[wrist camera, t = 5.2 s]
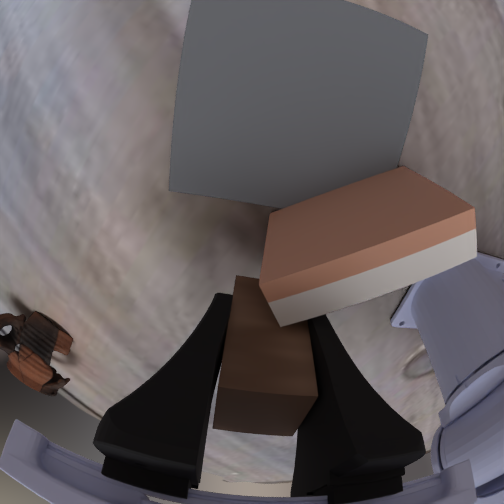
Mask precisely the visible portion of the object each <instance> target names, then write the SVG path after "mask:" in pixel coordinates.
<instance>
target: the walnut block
mask: <svg viewBox="0 0 504 504" xmlns="http://www.w3.org/2000/svg"><path fill="white" fill-rule="evenodd" d="M259 280H260V279H256V278H250V277H244V276H237V275H236V280H235V286H234V292H233V299H232V306H231V312H230V318H229V322H228V328H227V334H226V340H225V346H224V352H223V358H222V365H221V371H220V377H219V384H218V391H217V398H216V406H215V414H214V422H213V429H219V430H227V431H234V432H243V433H252V434H263V435H278V436H293V435H294V433H295V432H296V430H297V429H298V427H299V426H300V424H301V423H302V421H303V420H304V418H305V417H306V415H307V414H308V412H309V410H310V409H311V407H312V406H313V404H314V402H315V401H316V399H317V398H318V390H317V383H316V375H315V368H314V361H313V354H312V347H311V340H310V334H309V328H308V322H307V320H304V321H300V322H297V323H293V324H290V325H286V326H282V327H280V325H279V323H278V321H277V319H276V317H275V315H274V314H273V312H272V310H271V308H270V306H269V304H268V302H267V300H266V298H265V296H264V294H263V292H262V290H261V288H260V286H259Z"/></svg>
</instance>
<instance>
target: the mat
mask: <svg viewBox="0 0 504 504" xmlns="http://www.w3.org/2000/svg"><path fill="white" fill-rule="evenodd" d="M427 39H428V34H426V33H424V32H422V31H420V30H418V29H416V28H414V27H412V26H410V25H408V24H405V23H403V22H401V21H399V20H396V19H394V18H392V17H389V16H387V15H384V14H382V13H379V12H377V11H374V10H371V9H369V8H366V7H363V6H360V5H357V4H354V3H351V2H348V1H344V0H191V5H190V10H189V15H188V20H187V25H186V30H185V36H184V42H183V48H182V55H181V61H180V68H179V75H178V83H177V91H176V100H175V109H174V120H173V131H172V144H171V158H170V177H169V191H173V192H180V193H188V194H195V195H202V196H208V197H215V198H221V199H228V200H234V201H240V202H246V203H252V204H258V205H264V206H270V207H275V208H281V209H283V208H286V207H288V206H291V205H294V204H296V203H299V202H302V201H305V200H307V199H310V198H313V197H315V196H318V195H321V194H324V193H327V192H329V191H332V190H335V189H338V188H341V187H343V186H346V185H349V184H352V183H355V182H358V181H360V180H363V179H366V178H369V177H372V176H375V175H378V174H381V173H384V172H387V171H390V170H393V169H396V168H397V165H398V162H399V159H400V156H401V153H402V149H403V146H404V142H405V139H406V135H407V132H408V128H409V125H410V121H411V117H412V113H413V109H414V105H415V101H416V97H417V92H418V88H419V83H420V78H421V73H422V68H423V63H424V58H425V52H426V46H427Z"/></svg>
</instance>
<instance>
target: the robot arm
mask: <svg viewBox="0 0 504 504" xmlns="http://www.w3.org/2000/svg"><path fill="white" fill-rule="evenodd" d="M503 273H504V260H503V259H500V258H496V257H493V256H490V255H486V254H483V253H480V252H477V257H475V258H473V259H471V260H469V261H466V262H464V263H462V264H460V265H457V266H455V267H453V268H450V269H448V270H446V271H443V272H441V273H439V274H436V275H434V276H431V277H429V278H426V279H424V280H421V281H419V282H416V283H414V284H412V285H411V287H410V289H409V291H408V292H407V294H406V296H405V297H404V299H403V301H402V303H401V304H400V306H399V308H398V309H397V311H396V312H395V314H394V316H393V317H392V319H391V321H390V322H391V325H392V326H393V327H403V328H418V331H419V333H420V336H421V338H422V341H423V343H424V346H425V348H426V351H427V353H428V356H429V358H430V361H431V364H432V366H433V369H434V372H435V375H436V377H437V380H438V383H439V386H440V389H441V392H442V395H443V398H444V402H445V404H446V406H445V407H444V408H443V409H442V410H441V411H440V412H439V413H438V414H439V417H440V421H441V425H440V427H439V428H438V429H437V431H436V433H435V435H434V437H433V441H432V445H431V463H432V468H433V472H434V474H433V475H430V476H427V477H424V478H420V479H416V480H413V481H409V482H405V483H402V477H401V476H403V475H404V474H405V468H404V467H405V466H407V465H409V464H411V463H413V462H415V461H416V460H418V459H420V458H421V457H423V456H424V454H425V453H426V450H425V445H424V440H423V436H422V433H421V432H420V431H419V430H418V429H416V428H415V427H414V426H412V425H411V424H410V423H408V422H407V421H406V420H405V419H403V418H402V417H401V416H400V415H399V414H398V413H397V412H396V411H394V410H393V409H392V408H391V407H390V406H389V405H388V404H387V403H386V402H385V401H384V400H383V399H382V398H381V396H380V395H379V394H378V393H377V392H376V391H375V390H374V389H373V388H372V386H371V385H370V384H369V383H368V381H367V380H366V379H365V378H364V376H363V375H362V374H361V372H360V371H359V370H358V368H357V367H356V365H355V364H354V362H353V361H352V359H351V358H350V356H349V355H348V353H347V351H346V350H345V348H344V346H343V345H342V343H341V341H340V340H339V338H338V336H337V334H336V333H335V331H334V329H333V327H332V325H331V323H330V322H329V320H328V318H327V316H326V314H324V315H321V316H317V317H314V318H311V319H307V322H308V328H309V334H310V340H311V347H312V354H313V361H314V368H315V375H316V383H317V390H318V398H317V399H316V401H315V402H314V404H313V406H312V407H311V409H310V410H309V412H308V414H307V415H306V417H305V418H304V420H303V421H302V423H301V424H300V426H299V427H298V434H297V448H296V458H295V467H294V474H293V481H292V487H291V497H254V496H240V495H230V494H221V493H213V492H206V491H200V490H194V489H191V488H195V489H198V485H199V483H200V479H201V472H202V464H203V457H204V450H205V443H206V436H207V429H208V423H209V416H210V409H211V403H212V398H213V394H214V390H215V386H216V382H217V378H218V374H219V370H220V367H221V363H222V358H223V352H224V346H225V340H226V334H227V328H228V322H229V318H230V312H231V306H232V299H233V295H230V294H224V293H217V294H215V296H214V298H213V301H212V303H211V305H210V306H209V308H208V310H207V312H206V313H205V315H204V317H203V318H202V320H201V321H200V323H199V324H198V326H197V327H196V328H195V330H194V331H193V333H192V334H191V335H190V336H189V338H188V339H187V340H186V342H185V343H184V344H183V345H182V347H181V348H180V349H179V350H178V351H177V352H176V353H175V355H174V356H173V357H172V358H171V359H170V360H169V361H168V362H167V363H166V364H165V365H164V366H163V367H162V368H161V369H160V370H159V371H158V372H157V373H155V374H154V375H153V376H152V377H151V378H150V379H149V380H147V381H146V382H145V383H144V384H142V385H141V386H140V387H139V388H137V389H136V390H135V391H134V392H132V393H131V394H130V395H128V396H127V397H125V398H124V399H122V400H121V401H119V402H118V403H116V404H115V405H113V406H112V407H110V408H109V409H108V410H107V411H106V413H105V414H104V416H103V418H102V420H101V421H100V423H99V426H98V428H97V431H96V434H95V437H94V441H93V444H94V446H95V447H96V448H97V449H98V450H99V451H100V452H101V453H103V454H104V455H105V456H106V457H105V460H104V464H100V463H97V462H95V461H92V460H90V459H87V458H85V457H83V456H80V455H78V454H76V453H73V452H71V451H69V450H67V449H65V448H62V447H61V446H59V445H57V444H55V443H52V442H50V441H49V440H48V439H47V438H46V437H45V436H43V435H42V434H41V433H39V432H38V431H36V430H34V429H33V428H31V427H29V426H27V425H26V424H24V423H22V422H21V421H19V420H17V419H16V420H15V421H14V424H13V426H12V428H11V431H10V433H9V436H8V438H7V441H6V444H5V447H4V449H3V452H2V455H1V458H0V469H1V470H2V471H4V472H5V473H6V474H8V475H9V476H11V477H12V478H13V479H15V480H16V481H18V482H19V483H21V484H22V485H23V486H25V487H26V488H28V489H30V490H31V491H33V492H34V493H35V494H37V495H39V496H40V497H42V498H43V499H45V500H47V501H48V502H50V503H51V504H161V503H158V502H154V501H150V500H149V498H148V497H147V496H146V495H148V496H152V497H155V498H159V499H163V500H168V501H172V502H177V503H181V504H504V274H503Z"/></svg>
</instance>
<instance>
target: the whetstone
mask: <svg viewBox="0 0 504 504" xmlns="http://www.w3.org/2000/svg"><path fill="white" fill-rule="evenodd" d="M475 257H477V236H476V219H475V208H474V207H473V206H471V205H470V204H468V203H467V202H465V201H464V200H462V199H460V198H459V197H457V196H456V195H454V194H452V193H451V192H449V191H447V190H446V189H444V188H442V187H441V186H439V185H437V184H436V183H434V182H432V181H430V180H429V179H427V178H425V177H423V176H421V175H419V174H418V173H416V172H414V171H412V170H410V169H408V168H406V167H404V166H402V167H399V168H396V169H393V170H390V171H387V172H384V173H381V174H378V175H375V176H372V177H369V178H366V179H363V180H360V181H358V182H355V183H352V184H349V185H346V186H343V187H341V188H338V189H335V190H332V191H329V192H327V193H324V194H321V195H318V196H315V197H313V198H310V199H307V200H305V201H302V202H299V203H296V204H294V205H291V206H288V207H286V208H283V209H280V210H278V211H275V212H272V213H270V215H269V222H268V228H267V235H266V241H265V248H264V254H263V261H262V267H261V274H260V280H259V286H260V288H261V290H262V292H263V294H264V296H265V298H266V300H267V302H268V304H269V306H270V308H271V310H272V312H273V314H274V315H275V317H276V319H277V321H278V323H279V325H280V327H282V326H286V325H290V324H293V323H297V322H300V321H304V320H307V319H311V318H314V317H317V316H321V315H324V314H327V313H330V312H334V311H337V310H340V309H343V308H346V307H349V306H352V305H355V304H358V303H361V302H364V301H367V300H370V299H373V298H376V297H379V296H381V295H384V294H387V293H390V292H392V291H395V290H398V289H400V288H403V287H406V286H408V285H411V284H414V283H416V282H419V281H421V280H424V279H426V278H429V277H431V276H434V275H436V274H439V273H441V272H443V271H446V270H448V269H450V268H453V267H455V266H457V265H460V264H462V263H464V262H466V261H469V260H471V259H473V258H475Z"/></svg>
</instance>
